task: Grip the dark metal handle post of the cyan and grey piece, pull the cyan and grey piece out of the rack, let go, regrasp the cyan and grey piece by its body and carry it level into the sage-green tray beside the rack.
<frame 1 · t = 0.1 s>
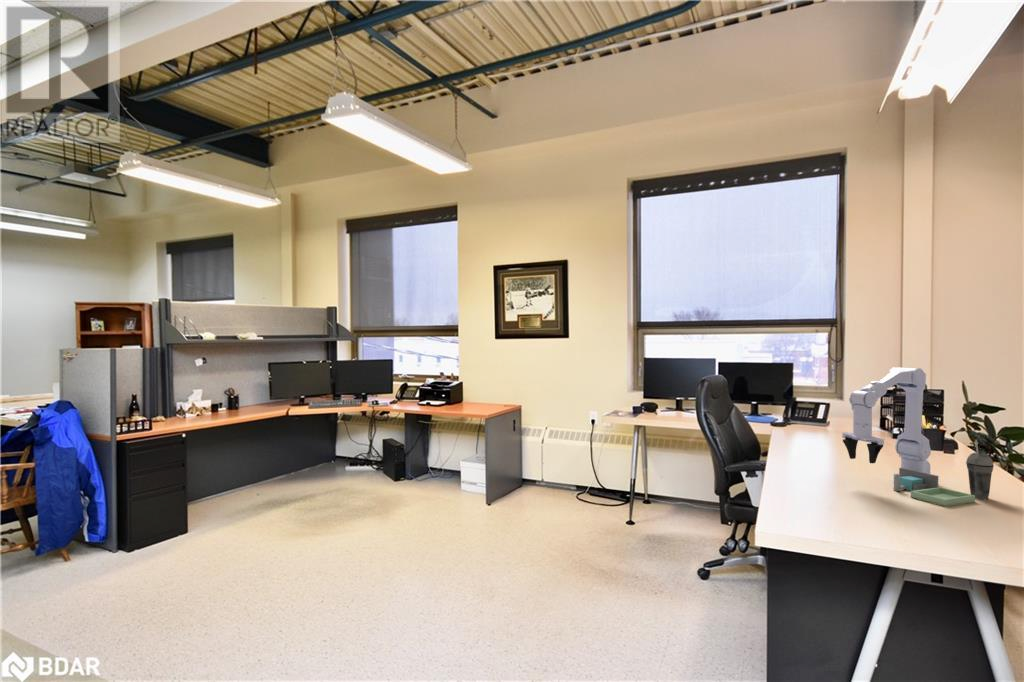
hand: (862, 460, 193), 10 cm above the table, tool pointing down, fingers open, 7 cm apart
cyan and grey piece: (911, 489, 192), on the table
tray: (942, 499, 179), on the table
rack: (911, 488, 192), on the table
beverage cup: (979, 498, 181), on the table
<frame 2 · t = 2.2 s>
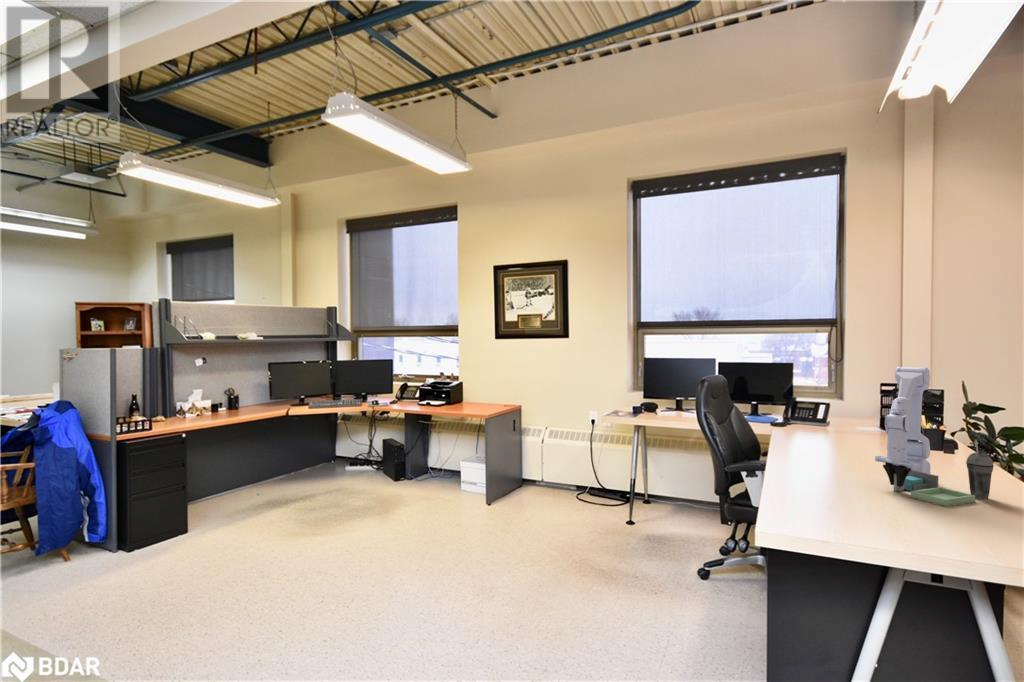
hand: (896, 485, 189), 2 cm above the table, tool pointing down, fingers closed on cyan and grey piece, 2 cm apart
cyan and grey piece: (911, 489, 192), on the table, touching gripper
everything else where it was.
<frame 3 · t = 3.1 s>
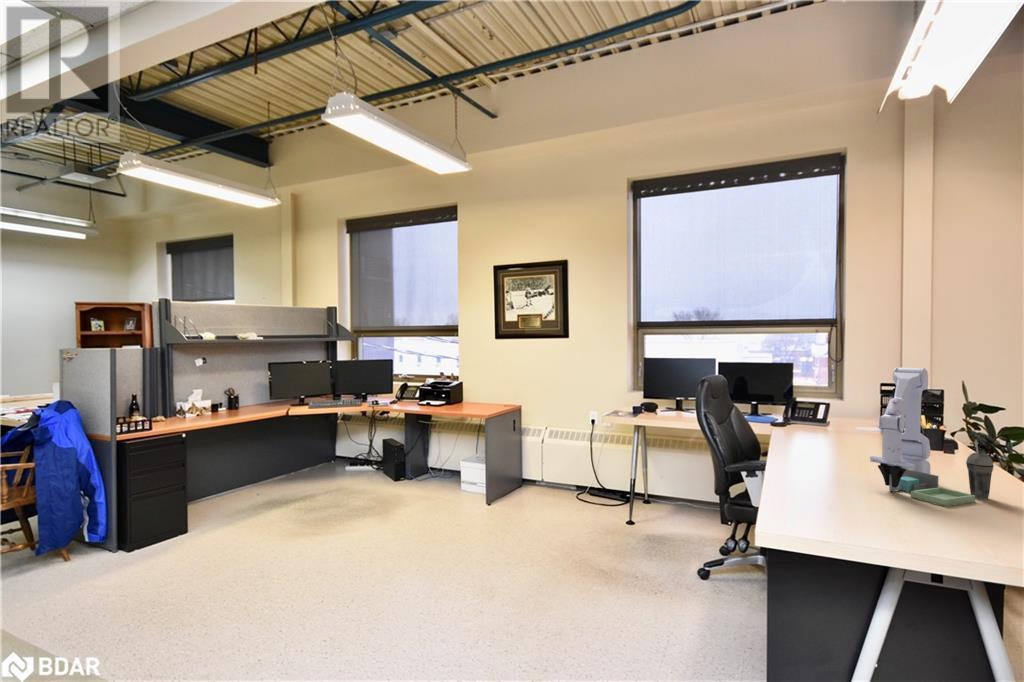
hand: (891, 486, 188), 2 cm above the table, tool pointing down, fingers closed on cyan and grey piece, 2 cm apart
cyan and grey piece: (906, 489, 191), on the table, touching gripper
everything else where it was.
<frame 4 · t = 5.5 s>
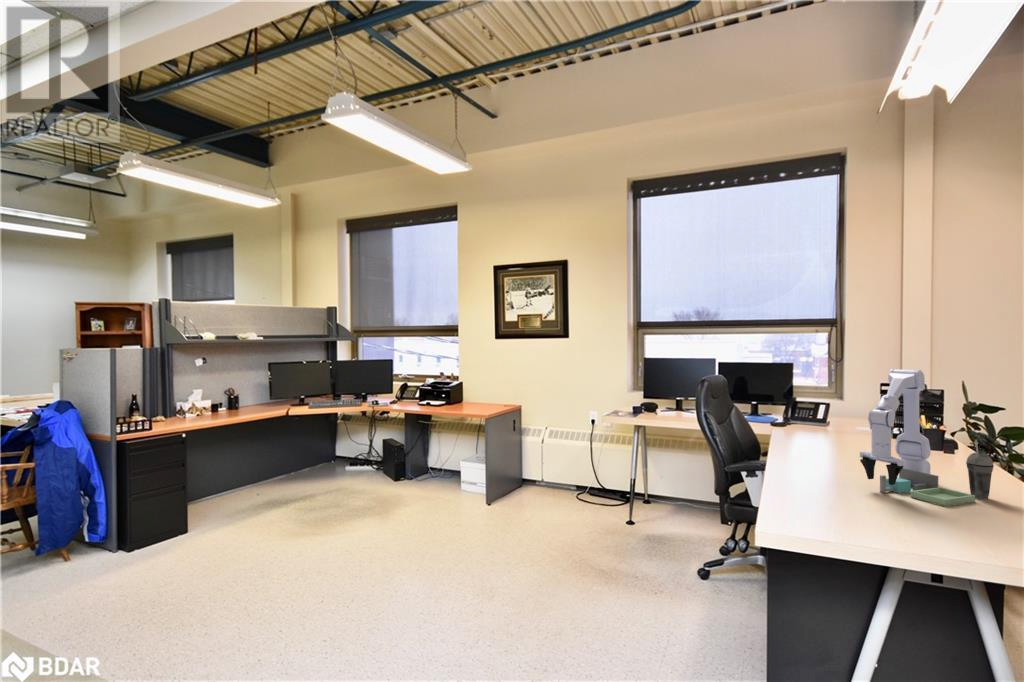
hand: (881, 481, 187), 4 cm above the table, tool pointing down, fingers open, 7 cm apart
cyan and grey piece: (898, 490, 189), on the table
everything else where it was.
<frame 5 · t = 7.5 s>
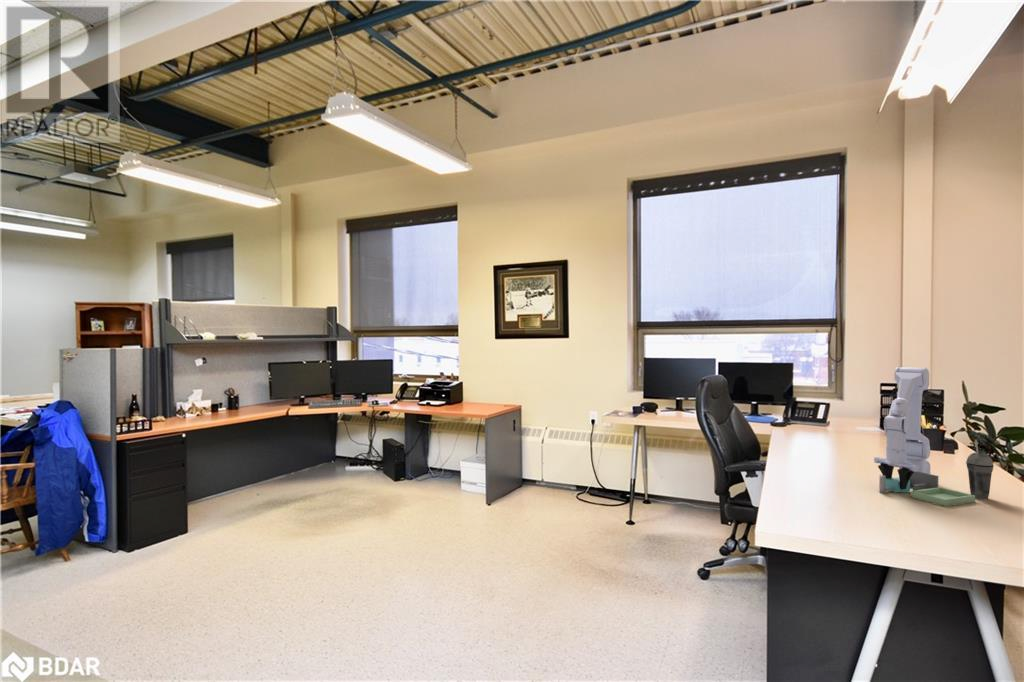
hand: (895, 487, 189), 1 cm above the table, tool pointing down, fingers closed on cyan and grey piece, 5 cm apart
cyan and grey piece: (897, 490, 189), on the table, touching gripper
everything else where it was.
when the fingers open (3 cm above the table, at t = 11.6 s): cyan and grey piece stays where it is, resting on tray.
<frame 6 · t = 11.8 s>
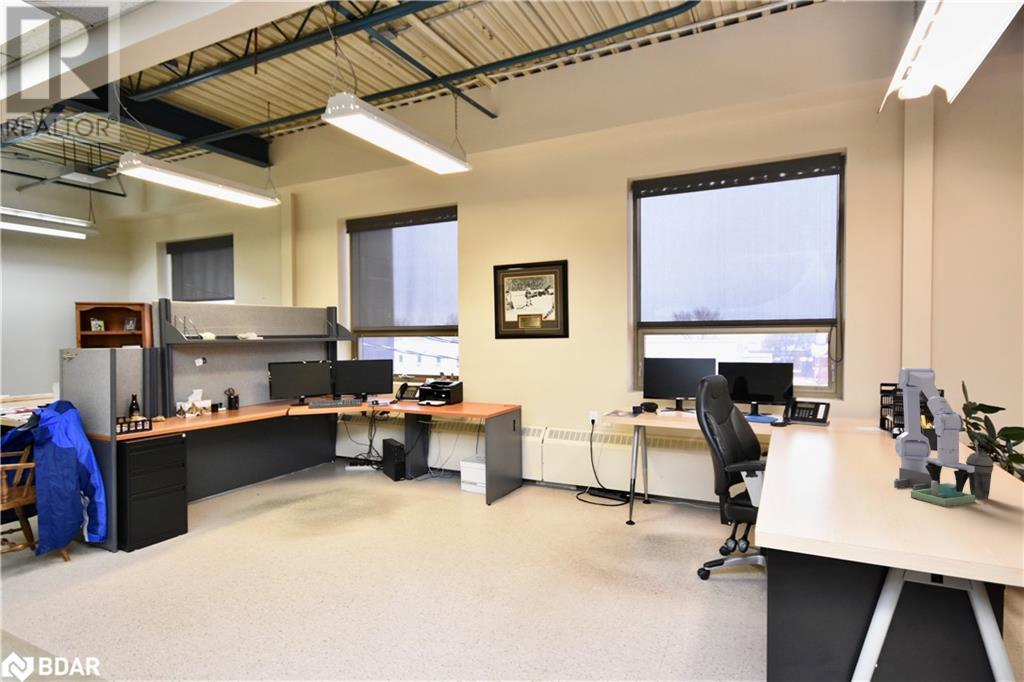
hand: (947, 488, 180), 4 cm above the table, tool pointing down, fingers open, 6 cm apart
cyan and grey piece: (949, 497, 180), point 1 cm above the table, touching tray
everything else where it was.
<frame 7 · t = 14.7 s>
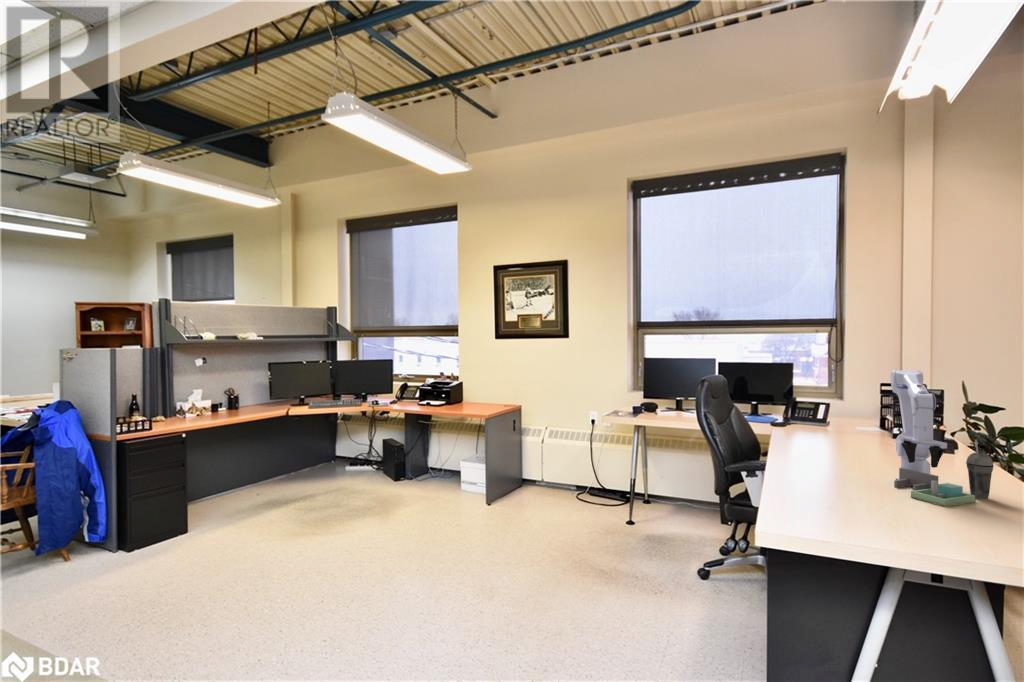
hand: (922, 464, 189), 9 cm above the table, tool pointing down, fingers open, 7 cm apart
nothing on the table moved.
at the end: cyan and grey piece 0.6 cm from the target spot on the tray, point 0.6 cm above the tray's base; cyan and grey piece tilted 0°; the gripper is holding nothing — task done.
